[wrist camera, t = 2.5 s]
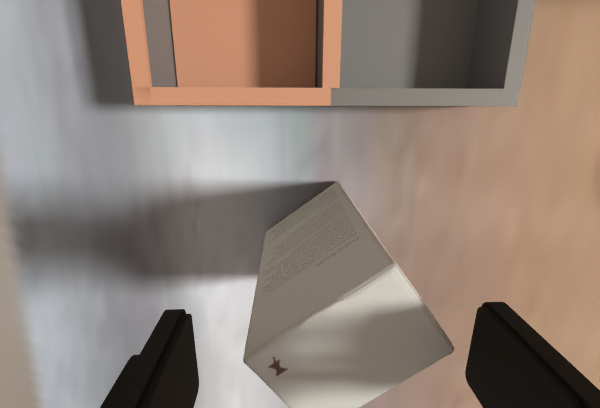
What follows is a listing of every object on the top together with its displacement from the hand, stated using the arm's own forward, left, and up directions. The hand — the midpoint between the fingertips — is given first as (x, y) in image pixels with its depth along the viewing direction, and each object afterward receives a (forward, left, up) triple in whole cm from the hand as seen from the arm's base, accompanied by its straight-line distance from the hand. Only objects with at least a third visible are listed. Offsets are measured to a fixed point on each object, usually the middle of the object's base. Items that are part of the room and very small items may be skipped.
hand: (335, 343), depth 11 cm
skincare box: (0, +1, -12) cm, 12 cm away
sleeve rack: (0, -12, -12) cm, 17 cm away
